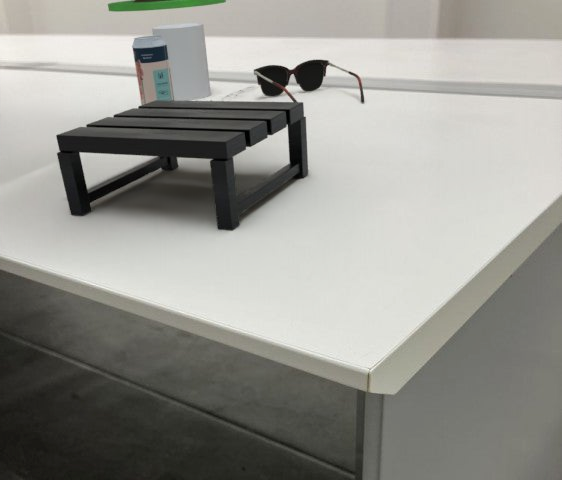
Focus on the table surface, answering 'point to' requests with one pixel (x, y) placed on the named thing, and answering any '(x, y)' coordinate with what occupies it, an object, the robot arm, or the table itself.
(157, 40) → the beer can
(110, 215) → the table surface
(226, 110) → the rack
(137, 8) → the mushroom figurine
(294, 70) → the sunglasses
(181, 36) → the cup
